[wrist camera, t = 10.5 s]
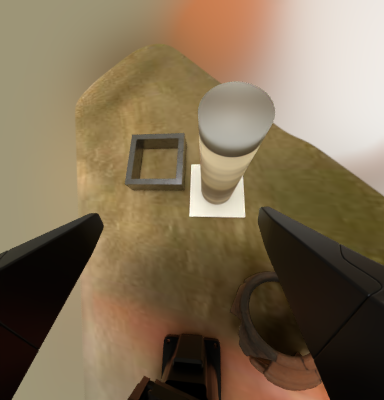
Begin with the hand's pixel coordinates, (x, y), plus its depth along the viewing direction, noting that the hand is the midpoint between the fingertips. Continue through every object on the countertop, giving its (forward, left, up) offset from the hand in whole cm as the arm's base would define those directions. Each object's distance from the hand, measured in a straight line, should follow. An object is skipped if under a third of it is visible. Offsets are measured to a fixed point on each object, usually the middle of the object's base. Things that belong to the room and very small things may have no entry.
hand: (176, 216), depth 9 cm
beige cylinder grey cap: (+6, -3, -13) cm, 15 cm away
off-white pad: (+6, -3, -14) cm, 15 cm away
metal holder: (+10, +6, -14) cm, 18 cm away
